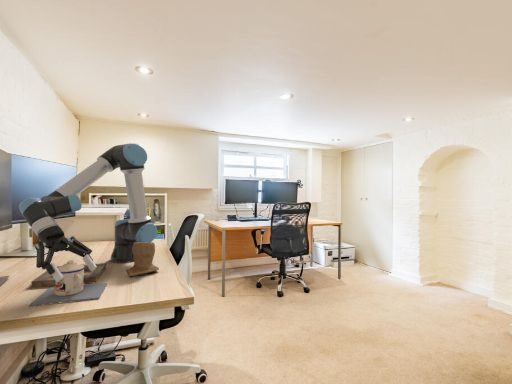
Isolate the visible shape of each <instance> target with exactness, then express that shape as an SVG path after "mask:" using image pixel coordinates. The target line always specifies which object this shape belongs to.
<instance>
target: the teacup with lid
mask: <svg viewBox="0 0 512 384" xmlns="http://www.w3.org/2000/svg"><path fill="white" fill-rule="evenodd" d="M84 265H85V264H80V263H77V262H74V260H73V259H69V260H67V262H66V263H64V264H63V265H59V266H60V267H58V269H59V271H60V272H61V274H62V275H63V278H62V279H61V280H60V282H56V280H55V286H54V287H55V295H57V296H68V295H73V294H77V293H79V292H81V291H82V290H83V285H84V283H83V280H84V275H85V274H84V273H85V271H84V268H85V267H84Z"/></svg>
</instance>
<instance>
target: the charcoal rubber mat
mask: <svg viewBox="0 0 512 384" xmlns="http://www.w3.org/2000/svg"><path fill="white" fill-rule="evenodd" d="M107 286H108V282H104V283H103V282H101V283H87V284H83V290H82V291H81V292H79V293H77V294H73V295H68V296H57V295H55V286H53V287H48V288H47V289H46V290H45V291H43V292H42V293H41V294H39V296H38V297H37V298H36V299H34V300H32V302H31V303H30V304H29V305H28V307H36V306H35V305H37V306H43V305H42V304H47V305H51V304H50V303H57V304H60V303H59V302H66V303H71V302H70V301H76V302H82V301H81V300H85V301H92V300H91V299H95V300H99V299H100V298H101V296H102V295H103V293H104V292H105V289H106V288H107ZM105 287H106V288H105ZM101 294H102V295H101Z"/></svg>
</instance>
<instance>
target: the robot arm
mask: <svg viewBox="0 0 512 384" xmlns="http://www.w3.org/2000/svg"><path fill="white" fill-rule="evenodd" d="M147 161H148V153H147V151H146V149H145V147H143V146H142V145H140V144H138V143H123V144H118V145H115V146H112V147H111V148H108V150H106V151H105V152H103V153H102V154H101V155H99V156H98V157H97V158H96V161H94V162H93V163H92V164H90V165H88V166H87V167H86V168H85V169H83V170H82V171H80V172H79V173H78V174H76V175H74V176H73V177H71V178H70V179H69V180H68V181H66V182H64V183H63V184H62V185H61V186H59V187H58V188H57V189H55V190H54V191H52V192H51V193H49V194H48V195H44V196H41V197H34V196H31V197H28V198H25V199H24V200H22V201H21V202H20V203H19V205H18V210H19V211H20V214H21V215H22V217H23V218H24V220H26V222H27V223H28V225H29V227H30V228H31V230H32V231H33V233H34V234H35V235H36V237H37V239H38V240H39V241H38V242H37V244H36V245H34V248H35V250H36V265H35V267H36V268H38V269H40V268H41V269H42V270H46V271H47V272H48V273H49V274H50V275H51V274H52V276H53V278H54V279H55V280H56V282H60V280H61V279H62V278H63V275H62V274H61V272H60V271H59V269H58V268H57V266H58V265H56V263H55V262H52V260H53V257H54V254H55V253H58V252H63V251H65V252H70V253H72V254H75V255H77V256H79V257H81V258H82V260H83V262H84V265H87V266H88V268H89V269H90V271H89V272H93V270H94V269H95V268H96V267H97V266H96V265H95V264H96V263H95V262H94V259H93V258H92V256H91V254H92V253H93V250H92V249H91V248H90V247H88V246H87V245H85V244H83V243H82V242H81V241H79V240H78V239H77V238H76V237H75V236H73V235H71V237H70V238H68V237H65V232H64V231H63V229H62V228H61V226H60V225H59V224H58V222H57V221H56V219H55V218H57V217H61V216H62V217H63V216H65V215H69V214H73V213H76V212H79V211H80V210H81V209H82V207H83V206H82V205H83V204H82V200H81V199H80V197H79V196H78V195H80V194H82V192H84V191H85V190H86V189H88V188H89V187H90V186H92V185H93V184H94V183H96V182H97V181H98V180H99V179H101V178H102V177H103V176H105V175H106V174H107V173H111V172H113V171H114V170H116V169H119V170H120V172H122V173H123V177H124V181H125V188H126V189H125V190H126V195H127V196H126V197H127V203H128V209H129V210H128V211H129V217H130V218H128V219H117V220H115V223H114V247H113V249H112V252H111V254H110V259H109V261H111V262H113V263H129V262H134V258H133V253H132V247H133V244H134V243H137V242H154V240H155V239H156V237H157V235H158V228H157V225H155V224H154V223H153V222H152V217H151V216H149V213H148V208H147V207H148V206H147V200H146V193H145V184H144V179H143V172H144V170H145V164H146V163H147ZM45 248H46V249H48V250H47V252H46V253H47V254H46V257H45Z"/></svg>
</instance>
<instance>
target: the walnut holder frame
mask: <svg viewBox="0 0 512 384" xmlns="http://www.w3.org/2000/svg"><path fill="white" fill-rule="evenodd" d="M83 265H84V267H85V268H84V272H91V273H90V274H84V280H83V284H94V283H97V281H98V280H99V279H100V277H101V276H102V274H103V273H104V272H105V270H106V269H107V263H105V262H103V263H95V265H96V266H97V267H96V268H95V269H94V270H93V271H90V269H89V268H88V266H87V265H86V264H83ZM56 266H57V268H58V267H60V266H61V265H56ZM93 282H94V283H93ZM30 286H31V287H30V288H31V289H33V288H35V289H36V288H47V287H55V279H54V277H53V276H52V274H51V275H50V274H49V273H48V272H47V270H46V271H45V272H43V273H42V274H40V275H39V276H37V277H35V278H34V279H33V280H32V281H31V282H30Z"/></svg>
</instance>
